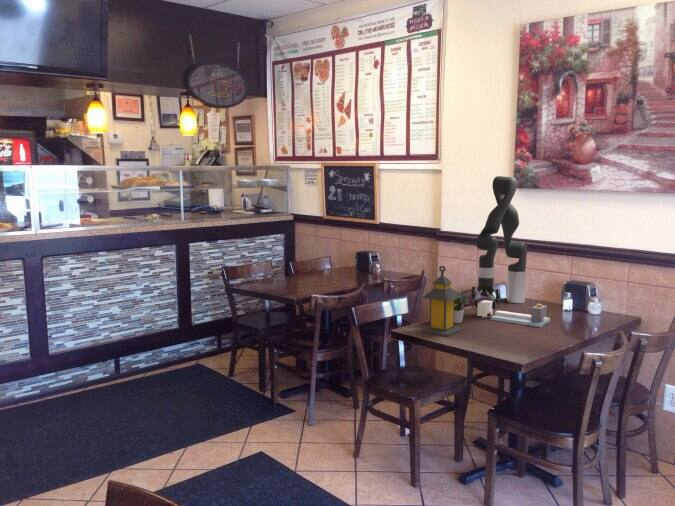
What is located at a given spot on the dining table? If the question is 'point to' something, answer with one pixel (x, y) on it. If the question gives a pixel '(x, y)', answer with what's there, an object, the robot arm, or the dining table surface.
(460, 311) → the house plant
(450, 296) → the lantern
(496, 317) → the rail board
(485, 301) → the din module
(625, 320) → the dining table surface
